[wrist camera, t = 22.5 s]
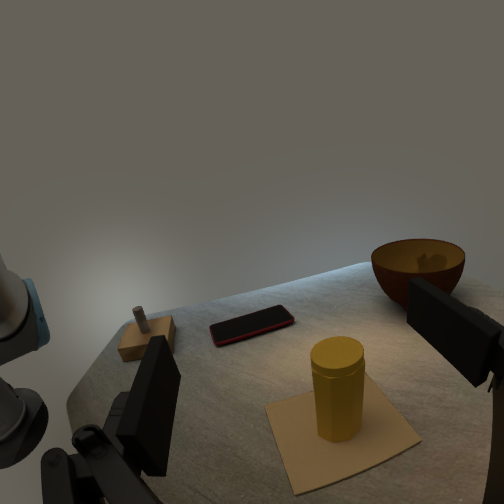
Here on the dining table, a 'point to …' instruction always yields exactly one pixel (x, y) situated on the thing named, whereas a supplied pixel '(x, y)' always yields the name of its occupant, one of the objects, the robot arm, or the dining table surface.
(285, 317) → the smartphone
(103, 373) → the dining table surface
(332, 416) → the jar
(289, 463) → the mat
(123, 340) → the stand
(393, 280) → the bowl
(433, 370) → the dining table surface
